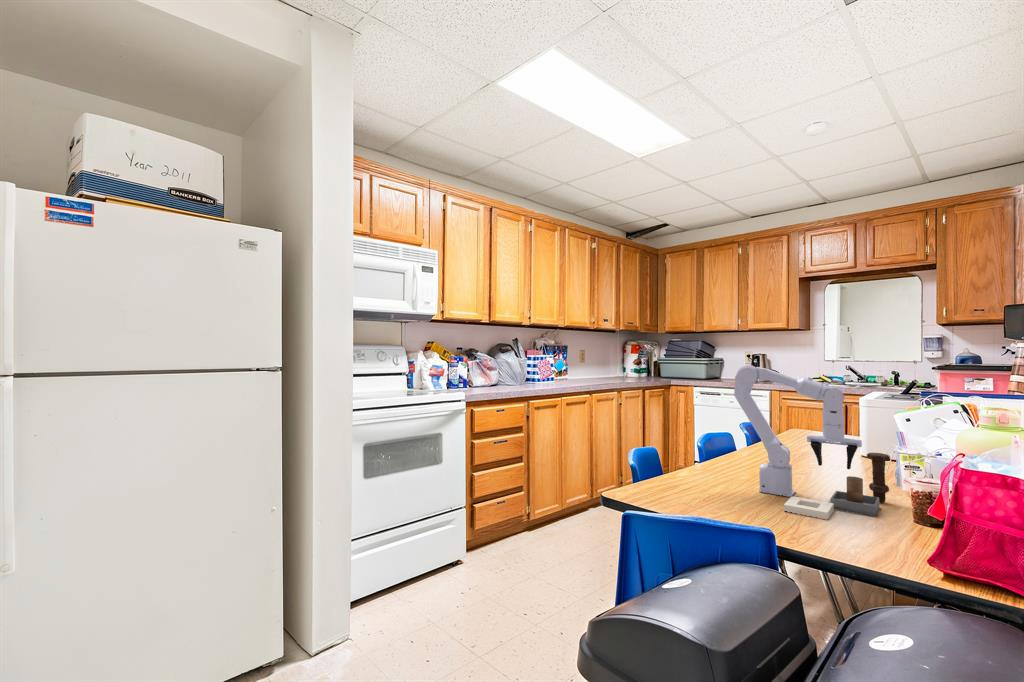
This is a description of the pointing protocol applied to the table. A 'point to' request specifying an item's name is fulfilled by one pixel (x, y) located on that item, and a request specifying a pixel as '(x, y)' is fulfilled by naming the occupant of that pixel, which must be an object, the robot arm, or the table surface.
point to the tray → (855, 504)
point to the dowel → (855, 489)
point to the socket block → (809, 507)
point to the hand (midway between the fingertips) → (834, 466)
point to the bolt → (878, 475)
